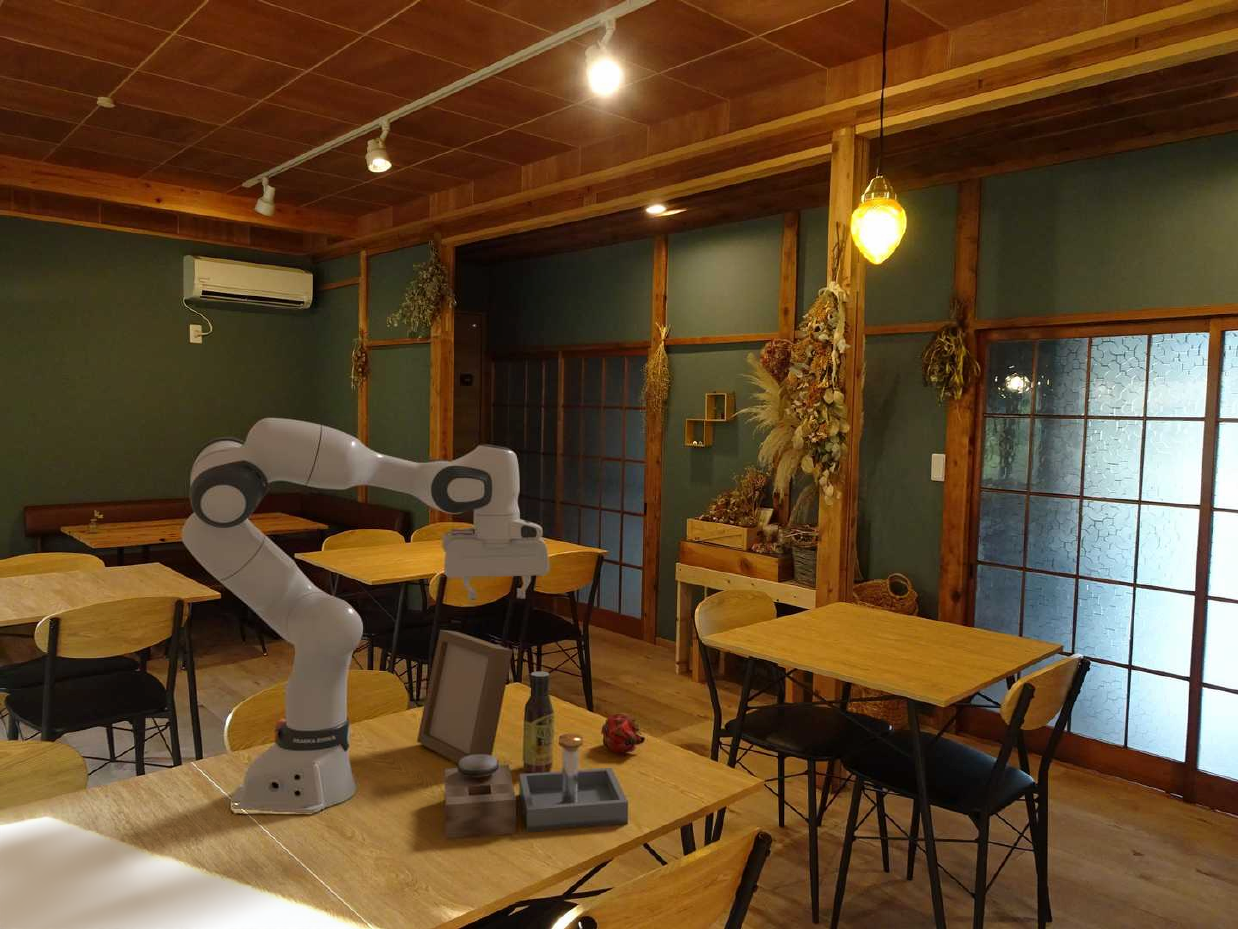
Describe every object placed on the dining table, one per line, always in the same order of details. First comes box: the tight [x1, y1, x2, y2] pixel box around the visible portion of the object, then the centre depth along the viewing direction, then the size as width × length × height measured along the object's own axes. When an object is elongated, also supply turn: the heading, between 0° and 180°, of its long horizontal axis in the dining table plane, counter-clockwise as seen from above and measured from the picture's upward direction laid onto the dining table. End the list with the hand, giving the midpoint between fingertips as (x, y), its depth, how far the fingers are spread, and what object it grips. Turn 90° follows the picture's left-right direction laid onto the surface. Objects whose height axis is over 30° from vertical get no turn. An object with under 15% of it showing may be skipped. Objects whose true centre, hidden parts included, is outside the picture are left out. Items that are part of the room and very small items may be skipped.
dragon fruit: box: [600, 712, 646, 756], centre depth 197 cm, size 8×8×12 cm
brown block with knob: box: [444, 754, 517, 840], centre depth 164 cm, size 12×16×9 cm
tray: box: [518, 767, 629, 833], centre depth 168 cm, size 18×16×4 cm
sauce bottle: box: [522, 671, 555, 773], centre depth 186 cm, size 7×6×20 cm
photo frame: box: [416, 629, 514, 764], centre depth 195 cm, size 15×22×25 cm
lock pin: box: [558, 733, 584, 804], centre depth 168 cm, size 4×4×12 cm
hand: (496, 599), depth 176 cm, fingers open, 8 cm apart
